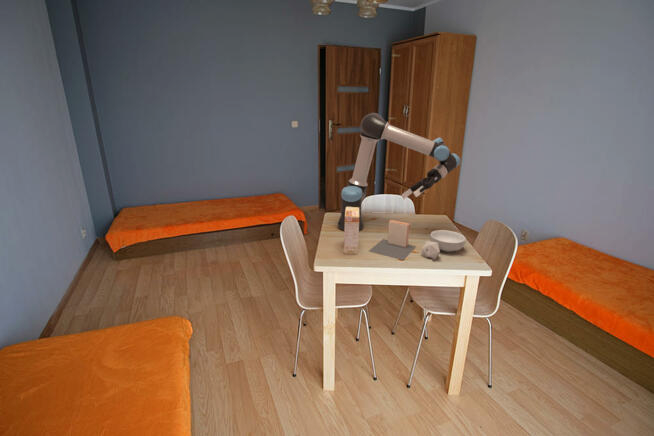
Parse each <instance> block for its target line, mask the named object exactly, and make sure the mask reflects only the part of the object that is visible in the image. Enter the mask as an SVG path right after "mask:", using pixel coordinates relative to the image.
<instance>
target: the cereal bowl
mask: <svg viewBox="0 0 654 436" xmlns="http://www.w3.org/2000/svg"><path fill="white" fill-rule="evenodd" d="M429 239H430V240H429V241H431V242H437V243H438V245H439V249H440V251H442V252H446V253H448V252H449V253H451V252H455V251H457V252H458V251H459V250H461V249H463V247H464V246H465V244H466V240H467V239H466V236H464V235H463V234H461V233H459V232H456V231H453V230H448V229H439V230H433V231H432V232H431V233H430V236H429Z"/></svg>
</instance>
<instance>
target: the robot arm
mask: <svg viewBox="0 0 654 436" xmlns="http://www.w3.org/2000/svg"><path fill="white" fill-rule="evenodd" d="M360 129H361V130H360V134H359V136H360V139H361V141H360V144H359V149H358V151H357V152H358V153H357V157H356V161H355V165H354V169H353V172H352V177H351V178H350V179H348V181H347V182H348V183H347V186H345V187H343V188H342V190H341V201H340V202H341V203H340V204H341V205H340V216H339V219H338V221H337V229H339V230H340V231H343V232H344V228H345V210H346V207H359V232H361V231H362V230H364V225H365V224H364V221H363V216H362V203H363V202H364V199H366V195H367V188H368V182H367V179H368V175H369V171H370V167H371V163H372V160H373V156H374V152H375V148H376V144H377V142H379V141H380V140H387V141H389V142H392V143H394V144H397V145H400V146H403V147H405V148H408V149H410V150H413V151H416V152H419V153H421V154H423V155H426V156H429V157H431V158H434V159H436V161H438V164H436V165H435V166H434V167H433V168H431V169H430V170H429V171H427V173H426V177H424V178H422V179H421V180H419V181H417V182H416V183H414V184H413V185H411V186H410V187H408V189H407V190H406V191H404V192H403V193H402V194H400V196H401V197H402V199H403V200H405V199H406V198H408V197H409V196H410V195H412V194H413V195H414V197H415V198H418V197H419V196H420V195H422V194H423V193H424V192H425V191H426V190H428V189H431V188H432V187H433V186H434V184H437V183H438V182H440V181H441V179H443V178H444V179H445V178H446V176H447V175H448V174H449V173H451V172H453V170H455V169H456V168H458V167H459V166H460V164H461V158H460V156H458V154H457V153H451V152H450V150H449V147H448V146H447V145H446V143H445V142H444V140H443V139H442V138H441V137H437V138H435V139H434V140H430V139H428V138H427V137H423V136H420V135H417V134H415V133H412V132H410V131H407V130H404V129H402V128H399V127H396V126H394V125H392V124H389V121H386V120H384V117H383V116H382V115H381V114H379V113H377V112H371V113H369V114H367V115H364V117H363V118H362V120H361V122H360Z"/></svg>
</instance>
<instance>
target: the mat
mask: <svg viewBox="0 0 654 436" xmlns="http://www.w3.org/2000/svg"><path fill="white" fill-rule="evenodd" d="M387 242H388V239H385V238H382V239H381V240H380V241H379V242H378V243H376V244H375V245H373V247H372V248H370V249H369V250H368V253H369V252H370V253H373V254H377V255H382V256H385V257H389V258H394V259H396V260H400V261H404V260H405V259H406V258H407V257H408V256H409V255H410V254H411V253H412V252H413V251H414V250H415V249H416V248H417V246H415V245H411V244H408V246H407V247H402V246H398V245H393V244H389V243H387Z"/></svg>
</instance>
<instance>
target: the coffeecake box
mask: <svg viewBox="0 0 654 436" xmlns="http://www.w3.org/2000/svg"><path fill="white" fill-rule="evenodd" d="M343 232H344V233H343V254H346V255H347V254H348V255H349V254H350V255H358V253H359V238H360V235H359V234H360V231H359V207H346V210H345V228H344V231H343Z"/></svg>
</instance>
